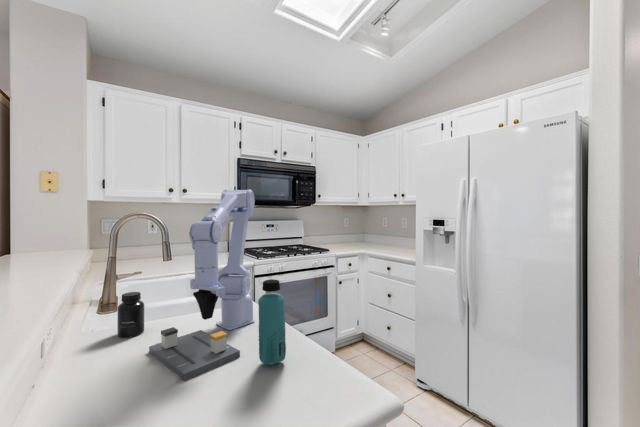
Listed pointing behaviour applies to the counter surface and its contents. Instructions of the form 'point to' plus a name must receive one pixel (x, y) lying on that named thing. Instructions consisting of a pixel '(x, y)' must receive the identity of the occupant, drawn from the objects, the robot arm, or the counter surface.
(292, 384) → the counter surface
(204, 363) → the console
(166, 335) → the fader black
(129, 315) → the supplement bottle
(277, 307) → the beverage bottle
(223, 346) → the fader orange
